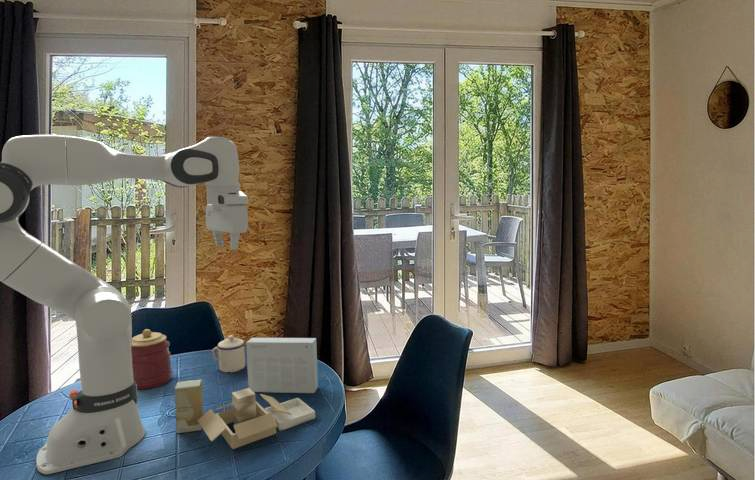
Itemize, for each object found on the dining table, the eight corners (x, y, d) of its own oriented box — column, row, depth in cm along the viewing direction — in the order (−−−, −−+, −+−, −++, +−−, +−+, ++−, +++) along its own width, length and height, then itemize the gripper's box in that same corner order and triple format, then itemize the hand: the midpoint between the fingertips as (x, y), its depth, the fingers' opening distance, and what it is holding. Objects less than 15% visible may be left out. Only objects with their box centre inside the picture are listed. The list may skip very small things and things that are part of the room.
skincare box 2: (318, 386, 140) (317, 337, 138) (314, 394, 134) (312, 343, 133) (254, 384, 142) (251, 336, 140) (247, 392, 137) (245, 342, 135)
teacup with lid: (250, 363, 159) (249, 332, 158) (237, 374, 150) (235, 340, 149) (220, 361, 162) (218, 330, 160) (205, 371, 153) (203, 339, 151)
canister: (155, 391, 138) (150, 336, 136) (118, 389, 140) (113, 335, 138) (180, 374, 151) (177, 324, 149) (146, 372, 153) (142, 322, 151)
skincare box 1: (176, 434, 113) (172, 388, 112) (179, 425, 117) (175, 381, 116) (203, 430, 115) (200, 385, 114) (204, 421, 119) (201, 378, 118)
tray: (280, 430, 114) (279, 423, 114) (264, 415, 122) (264, 408, 122) (315, 418, 120) (315, 411, 120) (298, 404, 128) (298, 397, 128)
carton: (216, 462, 101) (214, 439, 101) (194, 427, 116) (193, 407, 116) (297, 431, 113) (296, 411, 113) (268, 404, 128) (267, 386, 128)
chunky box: (240, 436, 112) (237, 399, 110) (234, 429, 115) (231, 392, 114) (257, 430, 114) (255, 393, 113) (250, 423, 118) (248, 387, 117)
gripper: (198, 198, 127) (201, 245, 129) (228, 198, 112) (230, 252, 113) (220, 197, 131) (222, 243, 133) (251, 197, 116) (253, 249, 117)
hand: (226, 247), depth 123 cm, fingers open, 8 cm apart
